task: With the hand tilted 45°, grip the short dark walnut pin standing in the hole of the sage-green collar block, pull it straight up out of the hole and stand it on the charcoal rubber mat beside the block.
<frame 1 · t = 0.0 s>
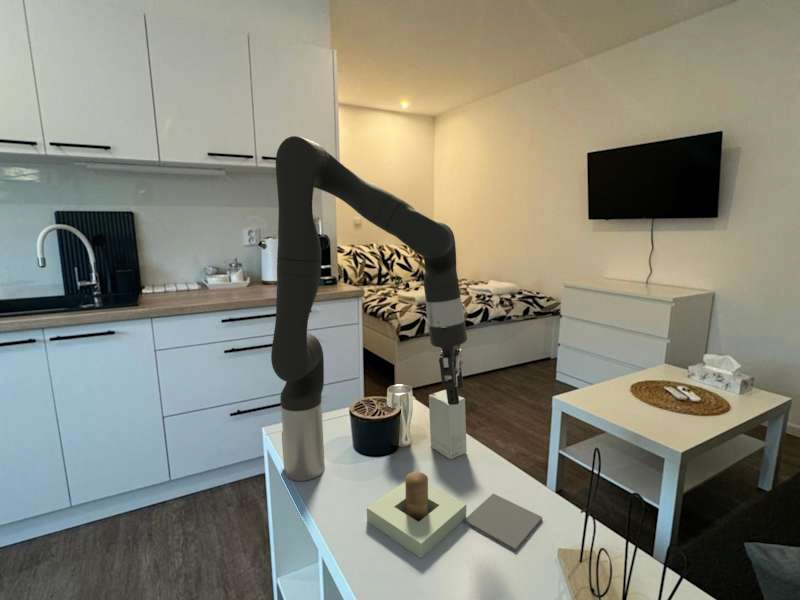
hand: (456, 395, 88), 22 cm above the table, tool pointing down, fingers open, 8 cm apart
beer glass: (400, 442, 113), on the table
rubber mat: (503, 521, 83), on the table
walnut pin: (416, 499, 83), in the collar block
collar block: (416, 519, 84), on the table
skincare box: (447, 450, 109), on the table
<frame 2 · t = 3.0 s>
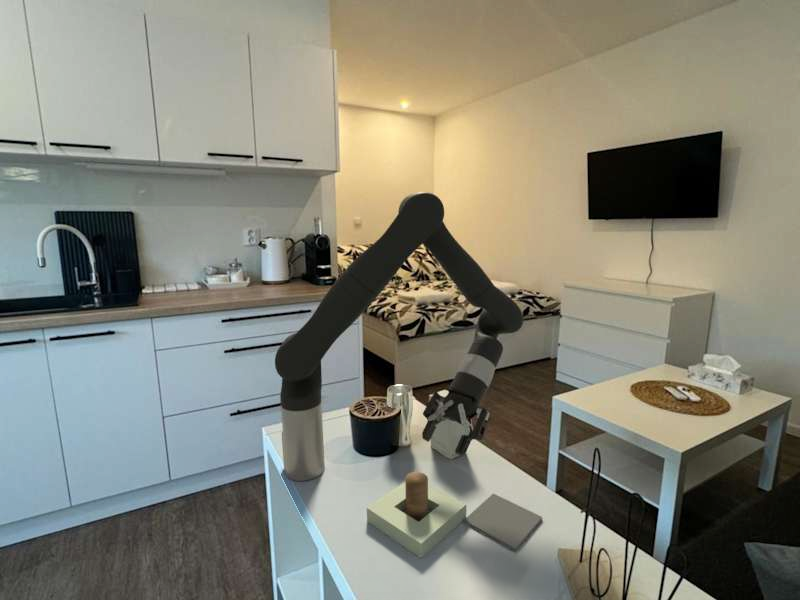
hand: (441, 446, 87), 12 cm above the table, tool tilted 45°, fingers open, 8 cm apart
nothing on the table moved.
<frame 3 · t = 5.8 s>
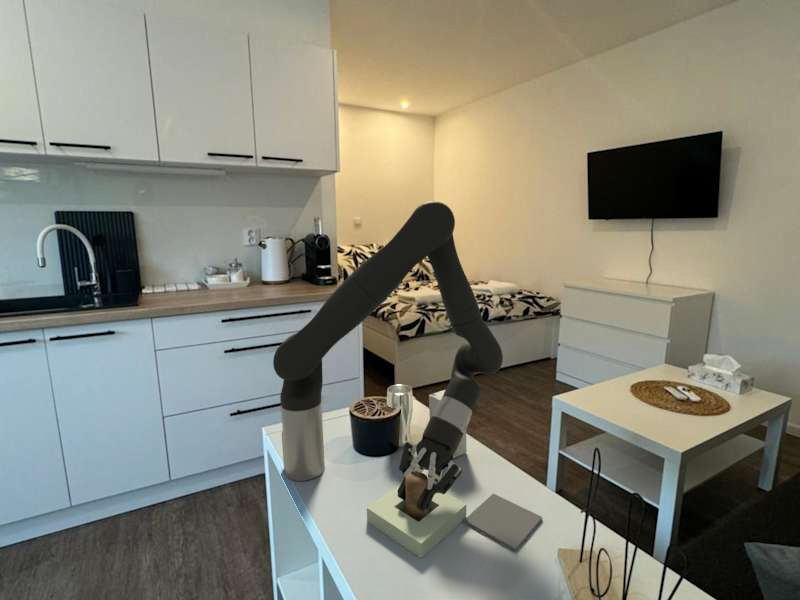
hand: (410, 503, 81), 5 cm above the table, tool tilted 45°, fingers closed on walnut pin, 4 cm apart
walnut pin: (416, 499, 83), in the collar block, touching gripper
everything else where it was.
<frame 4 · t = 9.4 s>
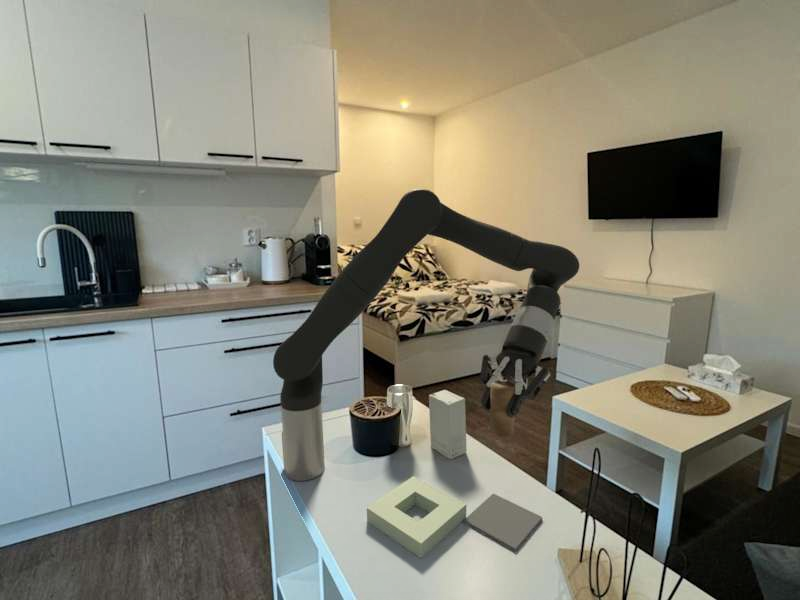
hand: (497, 411, 77), 24 cm above the table, tool tilted 45°, fingers closed on walnut pin, 4 cm apart
walnut pin: (502, 408, 79), point 24 cm above the table, touching gripper
everything else where it was.
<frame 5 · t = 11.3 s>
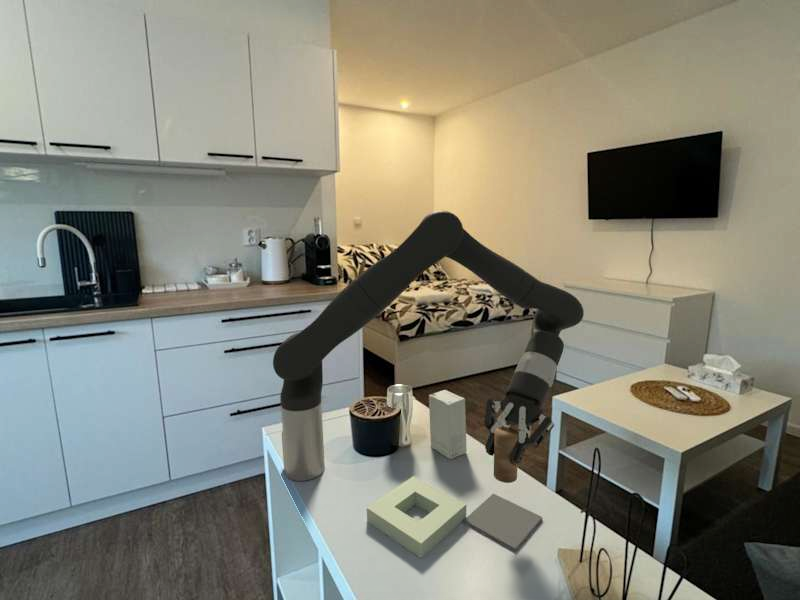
hand: (500, 458, 79), 14 cm above the table, tool tilted 45°, fingers closed on walnut pin, 4 cm apart
walnut pin: (505, 454, 80), point 14 cm above the table, touching gripper
everything else where it was.
when the fingers open (7 cm above the table, at t = 13.2 s): walnut pin drops 1 cm, resting on rubber mat.
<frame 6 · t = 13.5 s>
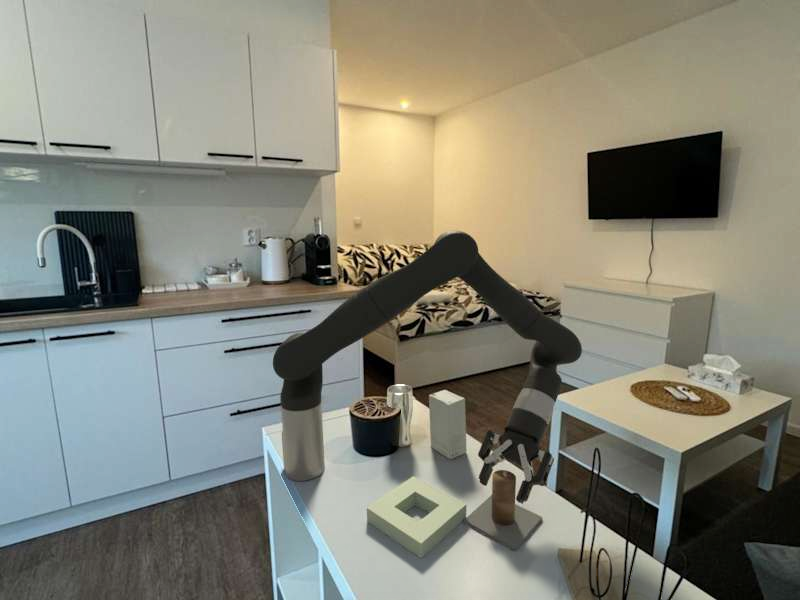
hand: (500, 492, 80), 7 cm above the table, tool tilted 45°, fingers open, 7 cm apart
walnut pin: (503, 497, 82), on the rubber mat, point 5 cm above the table
everything else where it was.
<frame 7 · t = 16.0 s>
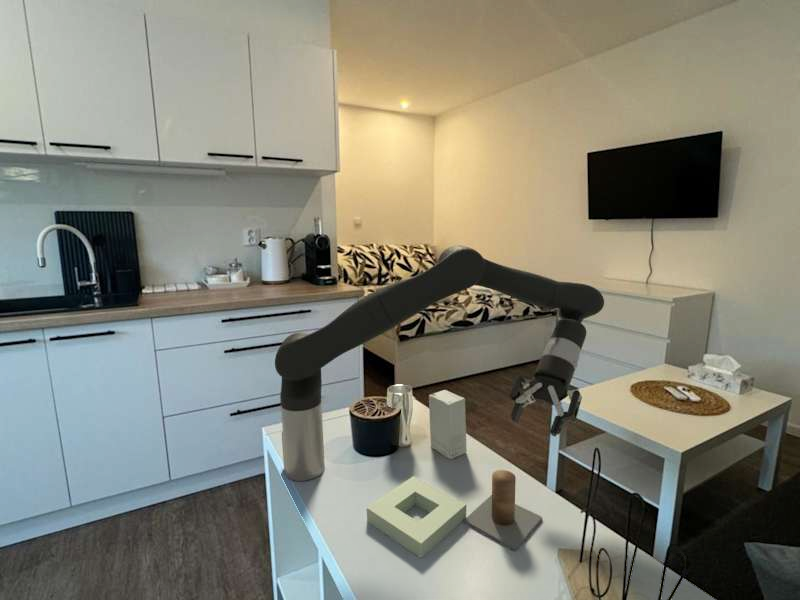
hand: (533, 428, 88), 15 cm above the table, tool tilted 45°, fingers open, 8 cm apart
nothing on the table moved.
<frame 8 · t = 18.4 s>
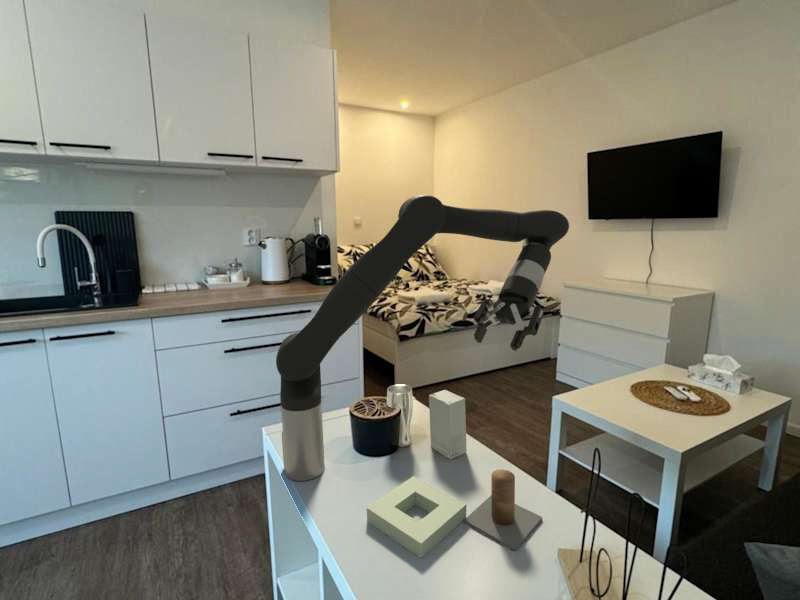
hand: (494, 344, 88), 33 cm above the table, tool tilted 45°, fingers open, 8 cm apart
nothing on the table moved.
at the end: walnut pin inside the target area on the rubber mat (0.1 cm from its centre), point 5.2 cm above the rubber mat's base; walnut pin tilted 2°; the gripper is holding nothing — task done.
